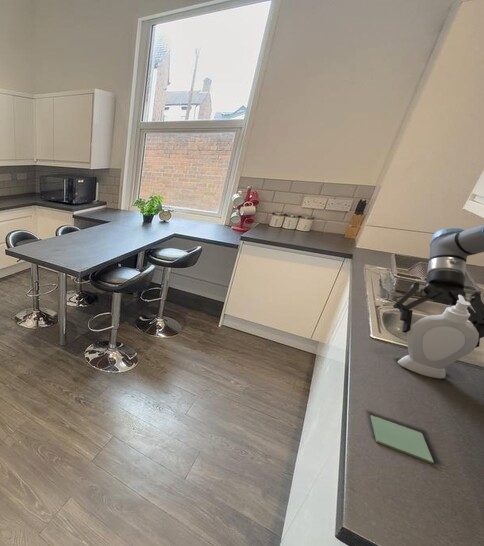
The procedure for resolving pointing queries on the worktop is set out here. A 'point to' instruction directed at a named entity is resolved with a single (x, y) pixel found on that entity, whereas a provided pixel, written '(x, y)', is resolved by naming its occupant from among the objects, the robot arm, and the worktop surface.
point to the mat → (401, 439)
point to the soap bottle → (440, 341)
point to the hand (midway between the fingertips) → (438, 338)
